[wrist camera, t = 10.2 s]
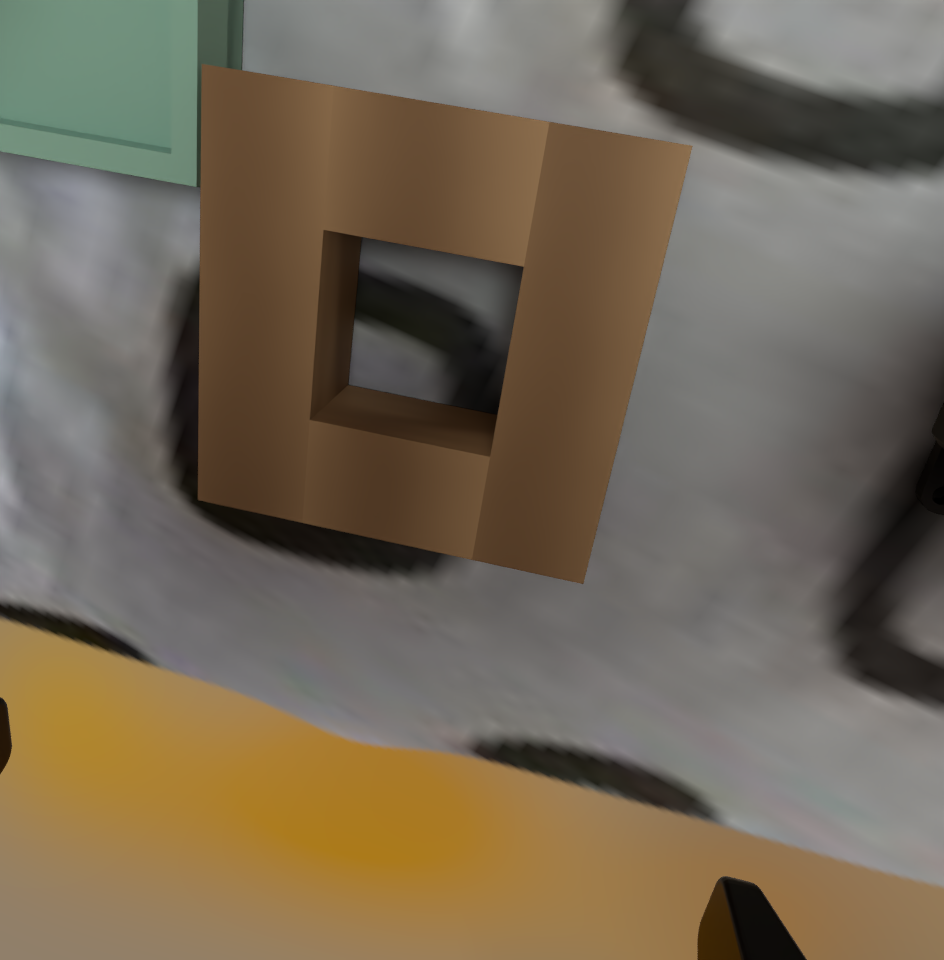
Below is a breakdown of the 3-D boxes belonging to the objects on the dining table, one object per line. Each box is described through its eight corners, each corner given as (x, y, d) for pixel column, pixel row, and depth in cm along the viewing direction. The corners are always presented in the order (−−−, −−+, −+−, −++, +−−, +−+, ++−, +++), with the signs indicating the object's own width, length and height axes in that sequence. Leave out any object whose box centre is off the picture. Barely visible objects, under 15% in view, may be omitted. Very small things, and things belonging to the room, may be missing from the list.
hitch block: (679, 146, 18) (691, 145, 15) (586, 529, 22) (583, 583, 19) (261, 75, 19) (201, 64, 16) (247, 457, 23) (197, 499, 20)
